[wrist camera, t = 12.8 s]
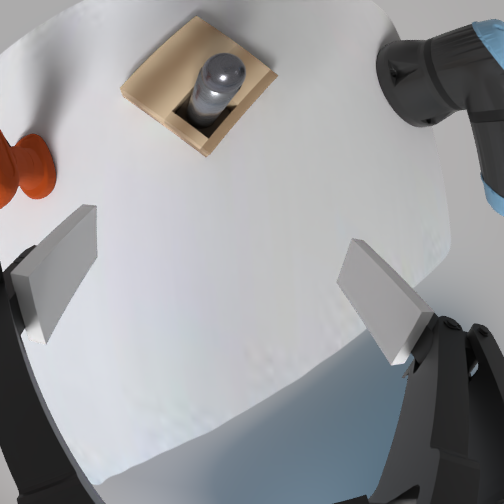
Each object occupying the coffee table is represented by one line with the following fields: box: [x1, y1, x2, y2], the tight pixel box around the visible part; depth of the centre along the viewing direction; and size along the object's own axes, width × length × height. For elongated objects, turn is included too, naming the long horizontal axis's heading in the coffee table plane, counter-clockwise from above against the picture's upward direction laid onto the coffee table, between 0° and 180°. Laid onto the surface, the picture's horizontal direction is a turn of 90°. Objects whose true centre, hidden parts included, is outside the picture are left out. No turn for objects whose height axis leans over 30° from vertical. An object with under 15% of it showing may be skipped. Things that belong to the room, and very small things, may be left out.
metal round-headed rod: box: [186, 53, 246, 129], centre depth 23 cm, size 3×3×14 cm
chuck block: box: [120, 16, 278, 157], centre depth 28 cm, size 12×12×3 cm
